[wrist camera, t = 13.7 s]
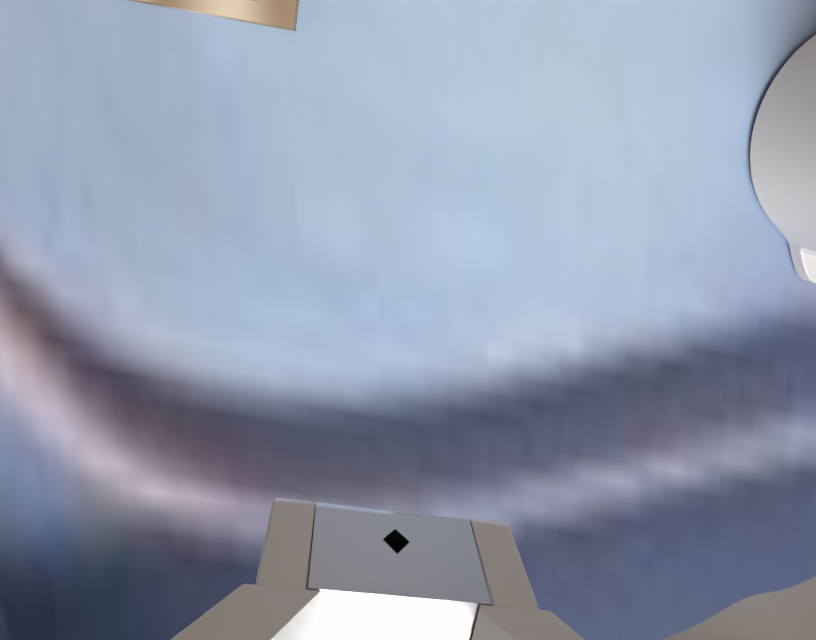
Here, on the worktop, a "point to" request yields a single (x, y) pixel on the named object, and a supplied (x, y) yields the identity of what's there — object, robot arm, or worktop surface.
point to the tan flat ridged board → (240, 10)
